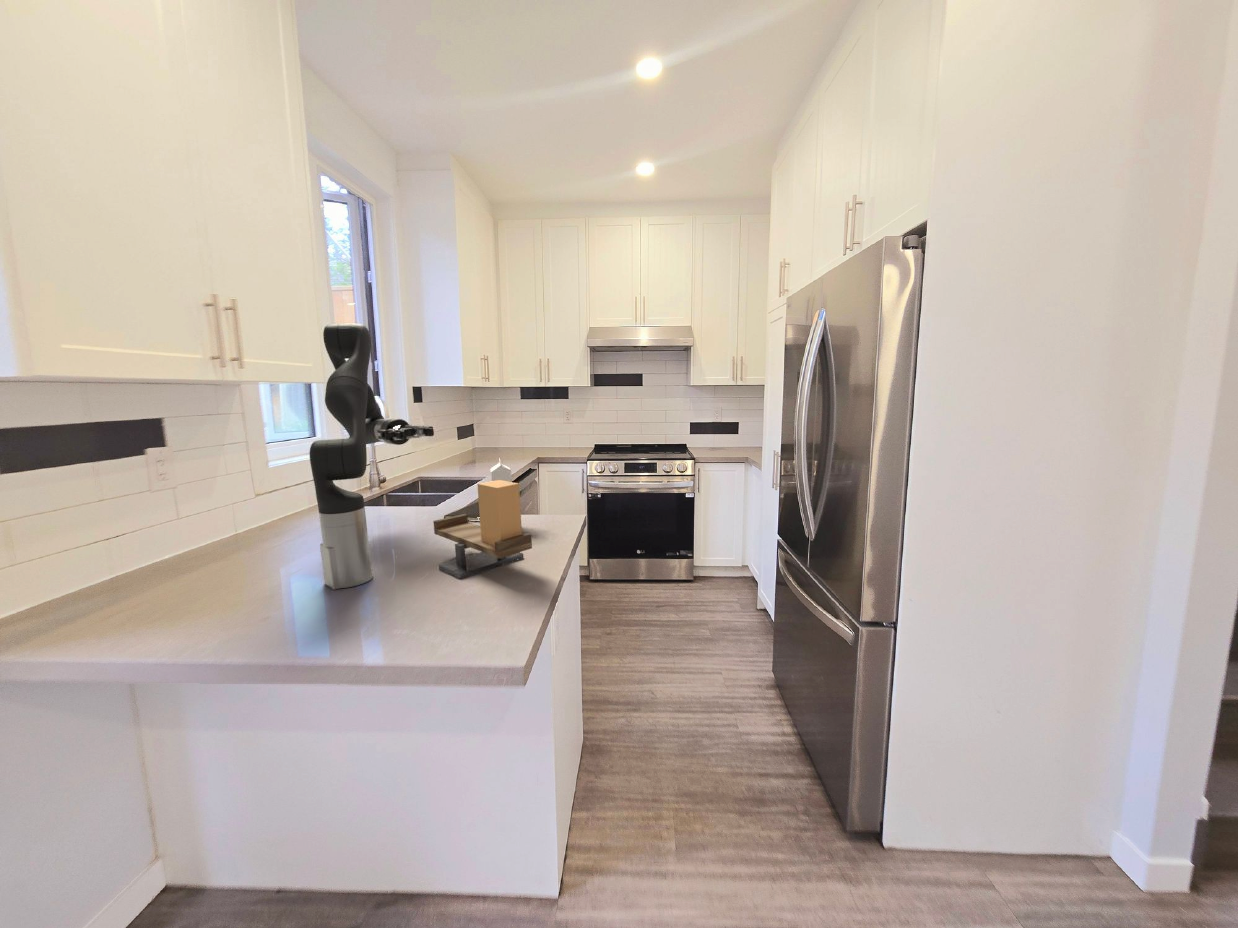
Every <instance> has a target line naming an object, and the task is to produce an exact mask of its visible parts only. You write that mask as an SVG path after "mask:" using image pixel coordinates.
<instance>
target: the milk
mask: <svg viewBox="0 0 1238 928" xmlns="http://www.w3.org/2000/svg"><path fill="white" fill-rule="evenodd" d="M498 460H499V461H498V463H497V464H495V465H494V466H492V467H491V468H490V470H489V472H490V481H496V480H503V481H508V482H513V481H512V479H513V478H512V469H511V468H510V467H509V466H507V465H506V464H503V463H502V462H501V459H500V457H499V458H498Z"/></svg>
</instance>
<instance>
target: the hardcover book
mask: <svg viewBox="0 0 1238 928" xmlns="http://www.w3.org/2000/svg"><path fill="white" fill-rule="evenodd" d="M462 514H466V515H467V518H468V520H478V518H477V517H480V513H479V501H477V502H474V503H472V504H469V505H467V506H464V507H462V508H459V509H457V510H454V511H452V512H449V513H447V514H444V515H443V519H444V518H449V517H453V516H457V515H462ZM479 520H480V518H479Z"/></svg>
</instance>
